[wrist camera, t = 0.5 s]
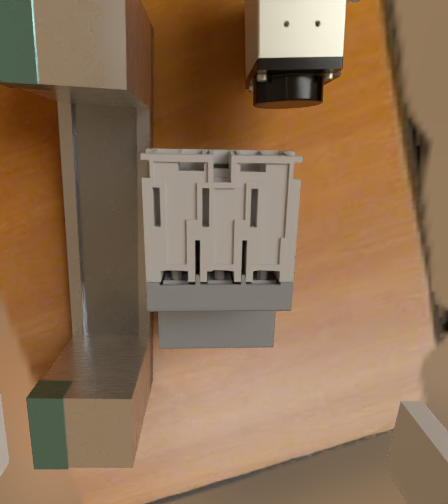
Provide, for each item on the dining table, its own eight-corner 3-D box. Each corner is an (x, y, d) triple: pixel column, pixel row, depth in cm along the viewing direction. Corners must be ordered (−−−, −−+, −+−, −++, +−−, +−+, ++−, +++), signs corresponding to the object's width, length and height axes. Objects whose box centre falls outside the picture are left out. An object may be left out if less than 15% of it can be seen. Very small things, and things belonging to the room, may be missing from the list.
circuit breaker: (174, 302, 34) (152, 411, 20) (170, 149, 31) (140, 147, 16) (251, 302, 35) (283, 408, 20) (257, 150, 31) (303, 151, 17)
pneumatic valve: (239, 117, 30) (260, 96, 19) (237, -48, 27) (261, -197, 15) (304, 115, 30) (364, 93, 19) (309, -49, 27) (386, -196, 16)
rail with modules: (60, 20, 28) (-24, -56, 17) (153, 28, 28) (124, -42, 18) (82, 379, 36) (34, 469, 26) (152, 380, 37) (132, 469, 26)
